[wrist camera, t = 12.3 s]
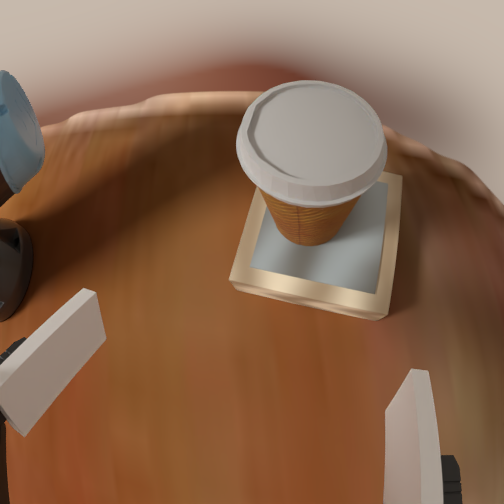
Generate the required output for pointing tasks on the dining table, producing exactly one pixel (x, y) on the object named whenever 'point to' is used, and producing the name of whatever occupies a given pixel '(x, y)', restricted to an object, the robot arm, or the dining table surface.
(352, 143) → the disposable coffee cup
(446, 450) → the dining table surface
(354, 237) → the birch base block
